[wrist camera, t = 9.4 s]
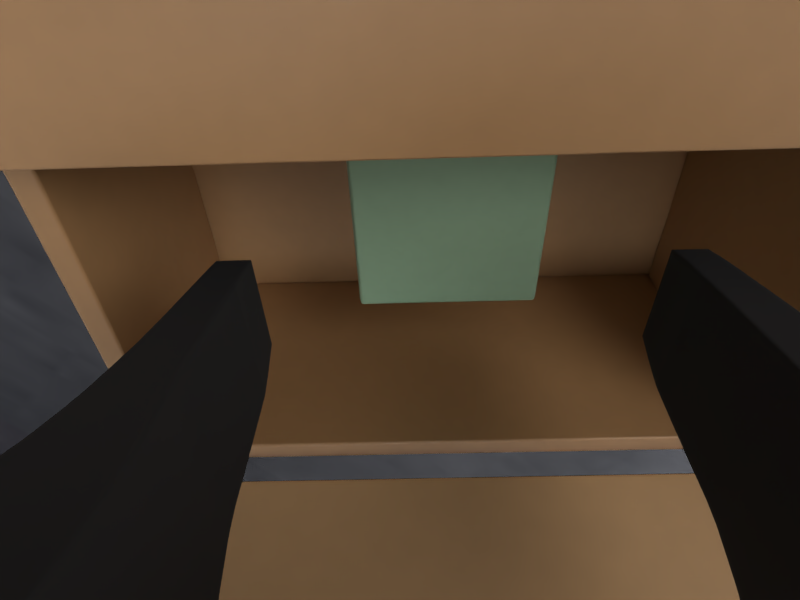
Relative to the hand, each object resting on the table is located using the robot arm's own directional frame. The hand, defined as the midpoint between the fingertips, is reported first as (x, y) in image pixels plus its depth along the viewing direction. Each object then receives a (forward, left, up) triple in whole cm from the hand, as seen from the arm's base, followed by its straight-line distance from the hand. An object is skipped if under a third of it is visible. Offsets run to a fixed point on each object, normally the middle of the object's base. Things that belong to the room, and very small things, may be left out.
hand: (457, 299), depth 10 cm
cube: (0, 0, -6) cm, 6 cm away
